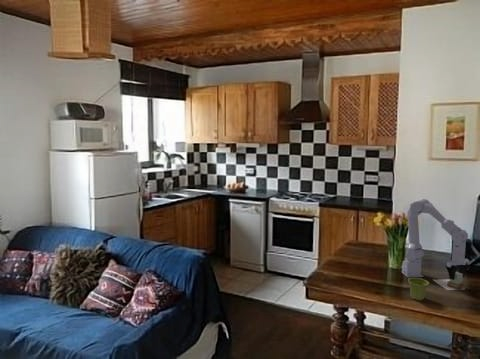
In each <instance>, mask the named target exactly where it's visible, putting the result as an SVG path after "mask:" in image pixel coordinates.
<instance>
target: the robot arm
mask: <svg viewBox="0 0 480 359" xmlns="http://www.w3.org/2000/svg"><path fill="white" fill-rule="evenodd" d="M422 213H423V214H429V215H430V216H432V218H434V219H435V220H436V221H437V222H439V223H440V225H441V228H442V229H443V230H444V231H445V232H446V233H448V234H449V235H450V237H451V240H452V241H453V242H452V255H451V256H452V258H451V260H449V261H448V262H446V264H445V269H446V270H447V273H448V278H449V279H452V280H454V278H455V273H456V272H459V273H461V274H463V278H465V275H466V273H467V271H468V270H469V268H470V264H469V263H470V260H469V259H467V258H465V257H466V256H465V255H466V243H467V241H466V240H468V238H469V233H468V232H467V230H465V229H462V228H461V227H459V226H458V225H457V224H455V221H454V220H451V219H447V218H446V217H444V216H443V214H441V212H440V211H439V210H438V209H437V208H436V207H435V206H434V205H433V203H432V202H430V201H429V199H426V198H424V199H421V200H414V201H412V203H411V204H410V205H409V208H408V211H407V228H408V229H407V230H408V245H407V247H406V252H405V258H406V259H404V260H402V263H401V264H402V265H401V266H402V267H401V273H402V274H403V275H404V276H406V277H407V278H421V277H422V278H423V277H424V275H422V274H421V273H422V272H421V270H422V258H423V257H424V256H425V253H424V252H425V251H424V249H423V246H422V245H421V243H420V230H419V226H420V225H419V216H420V215H421V214H422ZM455 266H458V267H455Z"/></svg>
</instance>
